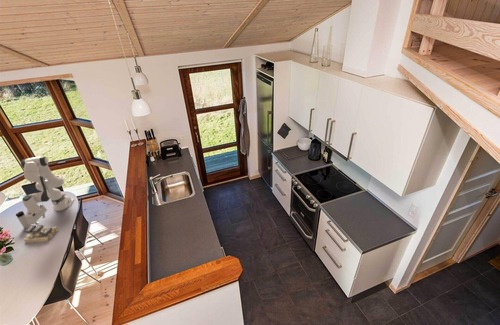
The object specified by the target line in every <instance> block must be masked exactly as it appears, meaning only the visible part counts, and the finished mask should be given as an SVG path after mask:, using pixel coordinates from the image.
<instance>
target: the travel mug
mask: <svg viewBox="0 0 500 325" xmlns="http://www.w3.org/2000/svg"><path fill="white" fill-rule="evenodd" d="M25 215H26V214H25V212H24V211H23V210H21V211H19V212H17V213H16V214H15V216H16V218H17V219H18V221H19V223H20V224H21V226H22V227H23V229H24V230H27V229H28V228H29V227H30V226H31V225H32V224H29V223H28V222H27V218H25Z"/></svg>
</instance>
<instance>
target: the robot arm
mask: <svg viewBox="0 0 500 325" xmlns="http://www.w3.org/2000/svg"><path fill="white" fill-rule="evenodd" d="M20 166H21V168H22V169H23V177H24V179H25V180H26V181H28V182H34V183H35V188H36V189H37V191H39V192H34V193H30V194H28V195H24V196H23V197H22V198H21V199H22V204H23V205H24V207H25V209H26V210H27V211H26V214H25V218H27V222H28V223H29V224H31V225H36V226H37V225H40V223H39V222H38V220H39V219H41V217H42V219H45V218H46V214H45V213H46V212H47V211H48V209H47V208H46V207H45V206H44V204H43V203H44V202H45V203H46V202H48V201H49V200H50V201H51V204H52V206H53V207H52V208H53V209H54V210H55V211H56V212H59V211H64V210H65V209H68V208H70V207H71V206H72V204H73V202H74V201H75V199H74V198H72V197H71V196H66V193H62V192H61V190H60V189H58V188H60V187H61V186H64V184H65V180H64V178H63V177H60V176H57V175H55V174H54V173H53V172H52V170H51V168H50V166H49V159H48V157H46V156H44V155H43V156H42V155H41V156H35V157H34V156H33V157H28V158H24V159H21V161H20ZM38 203H42V204H38Z"/></svg>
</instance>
